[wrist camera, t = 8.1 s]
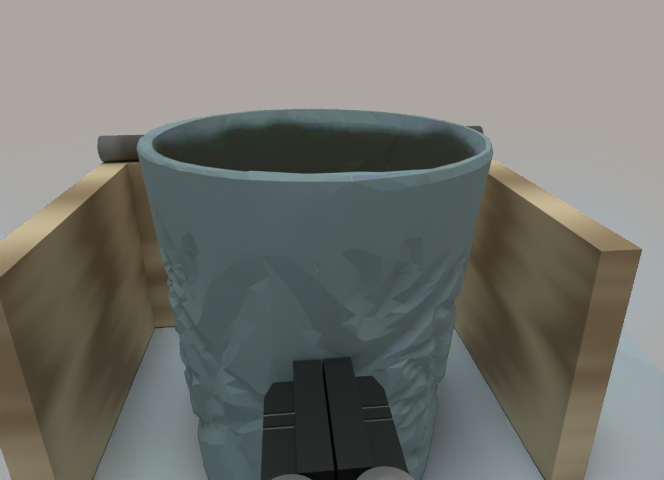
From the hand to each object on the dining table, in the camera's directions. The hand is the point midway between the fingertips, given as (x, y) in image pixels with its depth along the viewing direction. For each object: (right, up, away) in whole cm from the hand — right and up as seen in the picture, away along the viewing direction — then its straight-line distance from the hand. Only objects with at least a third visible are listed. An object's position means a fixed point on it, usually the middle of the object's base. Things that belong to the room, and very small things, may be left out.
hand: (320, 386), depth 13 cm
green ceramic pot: (0, -4, +7) cm, 8 cm away
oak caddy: (-1, -3, +9) cm, 10 cm away
